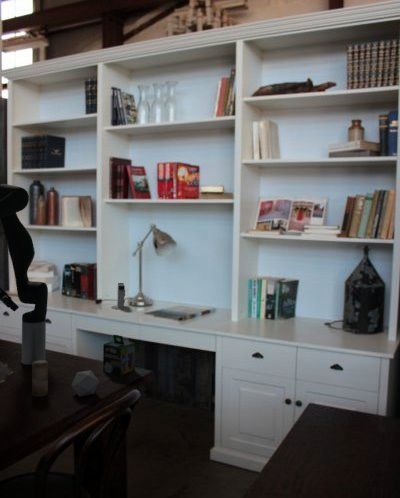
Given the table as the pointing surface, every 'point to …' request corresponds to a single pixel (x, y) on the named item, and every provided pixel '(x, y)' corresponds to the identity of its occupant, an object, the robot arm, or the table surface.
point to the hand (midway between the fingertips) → (13, 307)
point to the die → (85, 383)
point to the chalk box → (119, 356)
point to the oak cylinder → (39, 378)
